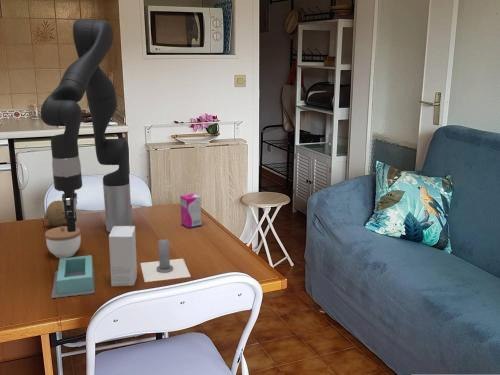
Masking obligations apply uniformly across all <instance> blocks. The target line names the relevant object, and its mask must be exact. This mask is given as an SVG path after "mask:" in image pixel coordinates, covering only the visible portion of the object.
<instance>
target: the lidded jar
mask: <svg viewBox="0 0 500 375" xmlns="http://www.w3.org/2000/svg"><path fill="white" fill-rule="evenodd" d="M81 233H82V231H81V229H80V227H77V226H76V231H75V232H68V231H67V225H65V226H64V225H62V226H60V227H57V226H56V227H54V228H51V229H48V230H47V231H45V233H44V237H45V242H46V246H47V249H48V250H49V252H50V254H52V255H53V256H54V257H56V258H58V259H60V258H70V257H72V256H73V257H74V255H75V254H76V253H77V251H78V250H79V248H80V247H81V242H82V241H81V240H82V239H81V238H82V237H81Z"/></svg>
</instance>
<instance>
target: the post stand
mask: <svg viewBox="0 0 500 375" xmlns="http://www.w3.org/2000/svg"><path fill="white" fill-rule="evenodd" d="M157 242H158V260H157V261H149V262H148V261H147V262H140V268H141V272H142V275H143V281H144V283H150V282H156V281H157V282H159V281H167V280H175V279H182V278H185V279H186V278H191V274H190V272H189V268H188V267H187V265H186V262H185V259H184V258H175V259H170V241H169V239H166V238H163V239H162V238H161V239H159V240H158V241H157Z"/></svg>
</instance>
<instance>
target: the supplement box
mask: <svg viewBox="0 0 500 375" xmlns="http://www.w3.org/2000/svg"><path fill="white" fill-rule="evenodd" d="M179 197H180V198H179V199H180V215H181V217H180V218H181V225H182V226H183V227H185V228H186V229H188V228H189V229H192V228H193V229H194V228H199V227H202V207H201V204H202V203H201V196H200V195H198V194H196V193H188V194H182V195H180V196H179Z"/></svg>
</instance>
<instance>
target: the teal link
mask: <svg viewBox="0 0 500 375" xmlns="http://www.w3.org/2000/svg"><path fill="white" fill-rule="evenodd" d="M58 262H59V263H58V268H57V269H58V270H57V271H58V275H57V290H58V295H59V294H68V293H76V292H84V291H93V267H94V266H93V265H94V264H93V255H90V254H89V255H82V256H73V257H72V256H71V257H67V258H59V261H58ZM80 271H85V275H80V276H71V277H67V273H70V272H80Z"/></svg>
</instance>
